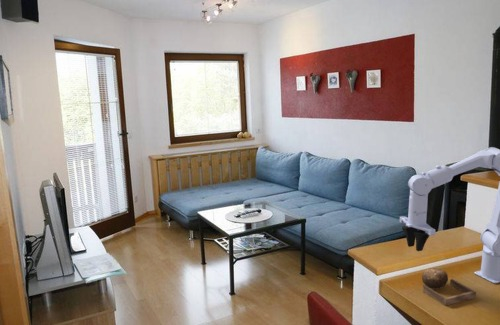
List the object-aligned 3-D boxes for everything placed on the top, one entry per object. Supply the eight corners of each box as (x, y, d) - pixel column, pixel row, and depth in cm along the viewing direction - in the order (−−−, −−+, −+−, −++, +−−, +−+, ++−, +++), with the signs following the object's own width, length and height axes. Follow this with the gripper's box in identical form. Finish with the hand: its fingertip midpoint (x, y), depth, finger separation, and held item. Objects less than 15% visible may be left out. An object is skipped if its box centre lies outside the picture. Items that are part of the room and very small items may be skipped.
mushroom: (447, 271, 132) (440, 260, 129) (455, 291, 125) (448, 279, 123) (423, 279, 135) (416, 268, 132) (430, 298, 128) (423, 287, 126)
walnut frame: (451, 284, 130) (452, 278, 130) (475, 297, 122) (476, 291, 121) (423, 291, 126) (423, 285, 125) (445, 305, 118) (445, 299, 117)
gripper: (393, 206, 139) (391, 242, 141) (424, 218, 125) (421, 258, 128) (409, 203, 141) (407, 239, 144) (441, 215, 128) (438, 255, 130)
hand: (415, 248), depth 136 cm, fingers open, 3 cm apart
